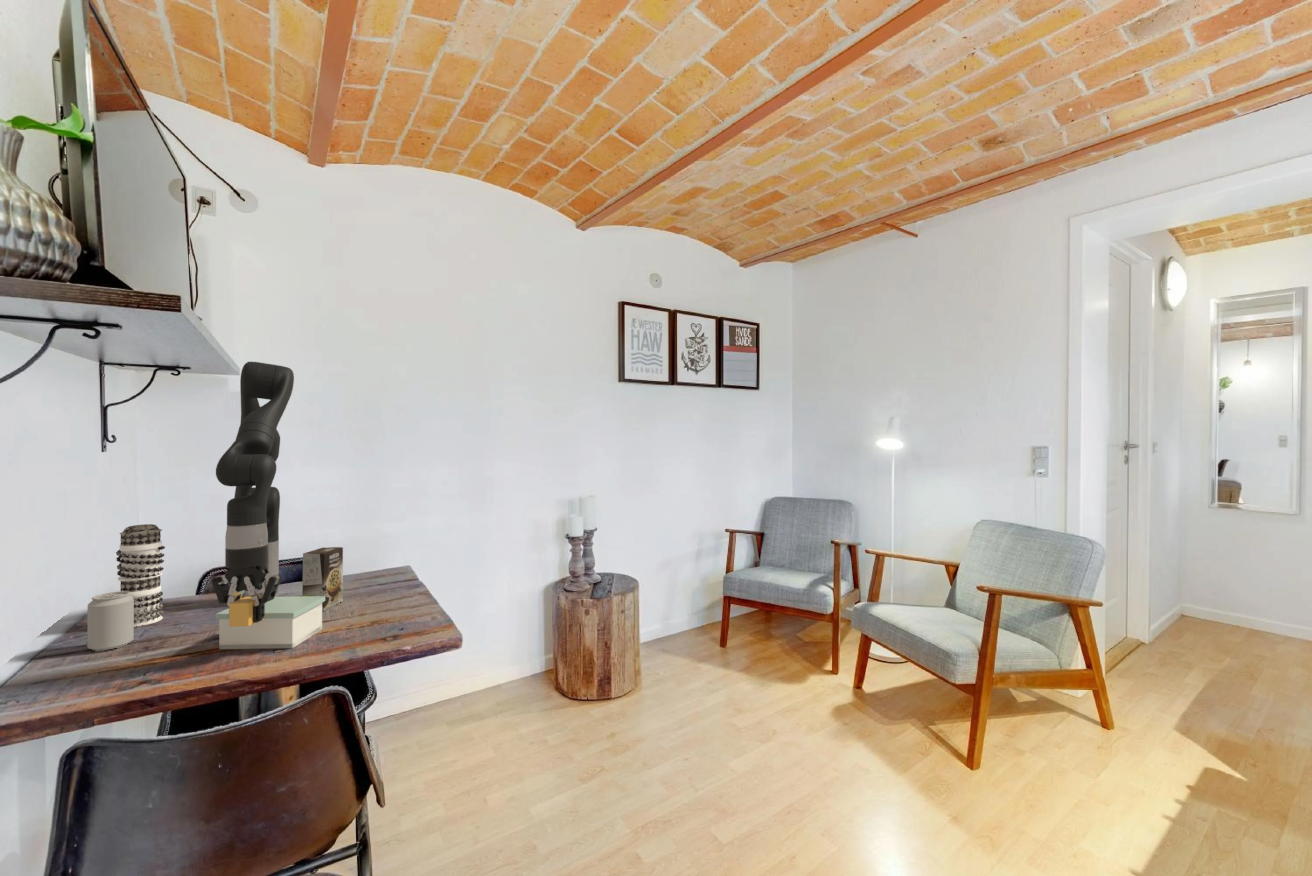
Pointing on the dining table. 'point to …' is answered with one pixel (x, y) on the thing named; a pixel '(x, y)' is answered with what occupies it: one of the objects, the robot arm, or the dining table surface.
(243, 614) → the lid
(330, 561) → the coffee box
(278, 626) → the tub
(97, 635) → the can
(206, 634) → the dining table surface
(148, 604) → the decorative candle
